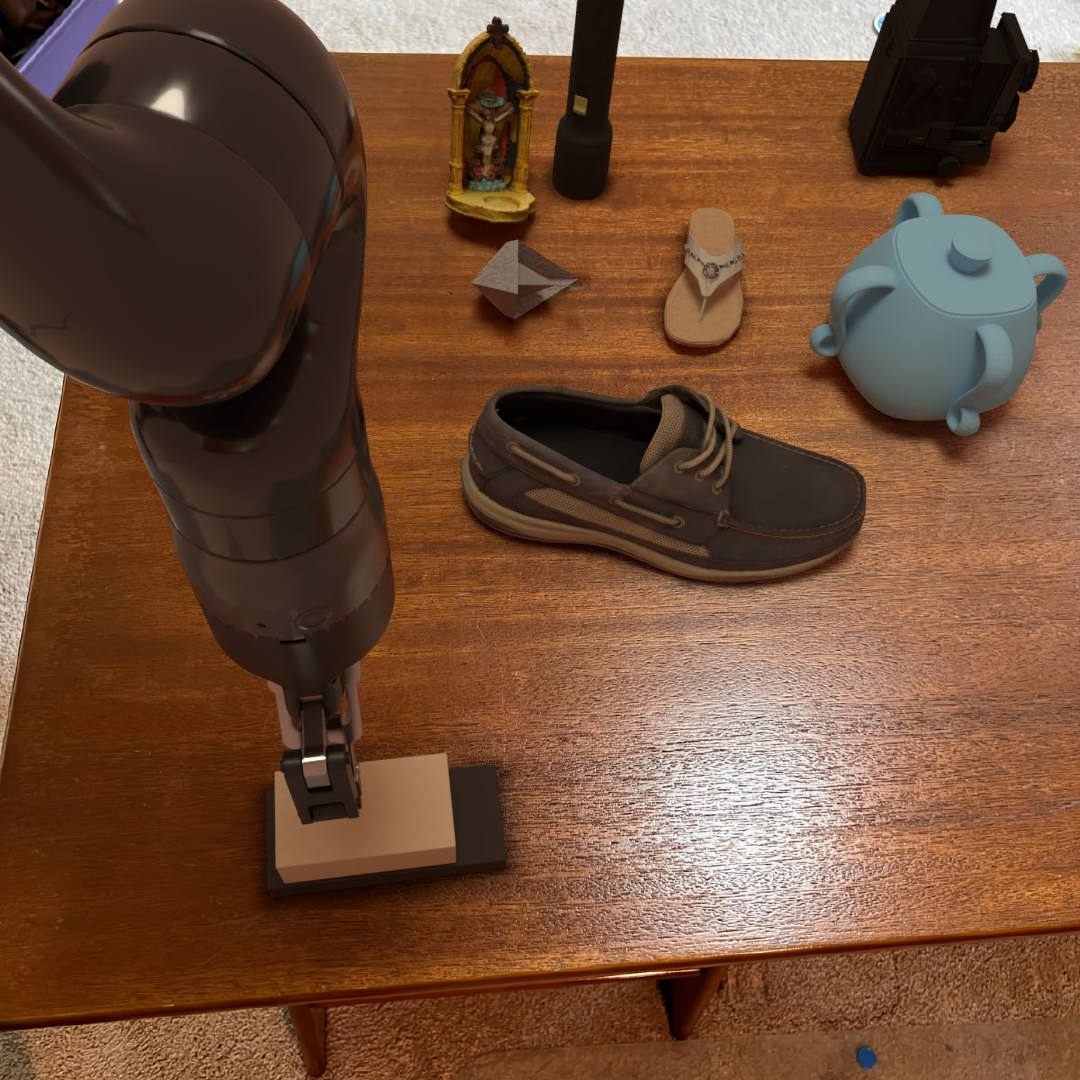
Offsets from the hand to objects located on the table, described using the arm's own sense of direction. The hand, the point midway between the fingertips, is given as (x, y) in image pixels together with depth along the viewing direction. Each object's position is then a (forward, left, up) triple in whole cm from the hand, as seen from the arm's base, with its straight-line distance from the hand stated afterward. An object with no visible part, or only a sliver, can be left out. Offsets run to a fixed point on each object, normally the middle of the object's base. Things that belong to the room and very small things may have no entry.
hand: (334, 711), depth 54 cm
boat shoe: (+30, -2, -16) cm, 34 cm away
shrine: (+48, +28, -16) cm, 57 cm away
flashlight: (+56, +24, -16) cm, 63 cm away
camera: (+81, +1, -16) cm, 82 cm away
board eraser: (0, -2, -15) cm, 16 cm away
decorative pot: (+56, -10, -16) cm, 59 cm away
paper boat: (+40, +18, -16) cm, 46 cm away
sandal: (+52, +8, -16) cm, 55 cm away
